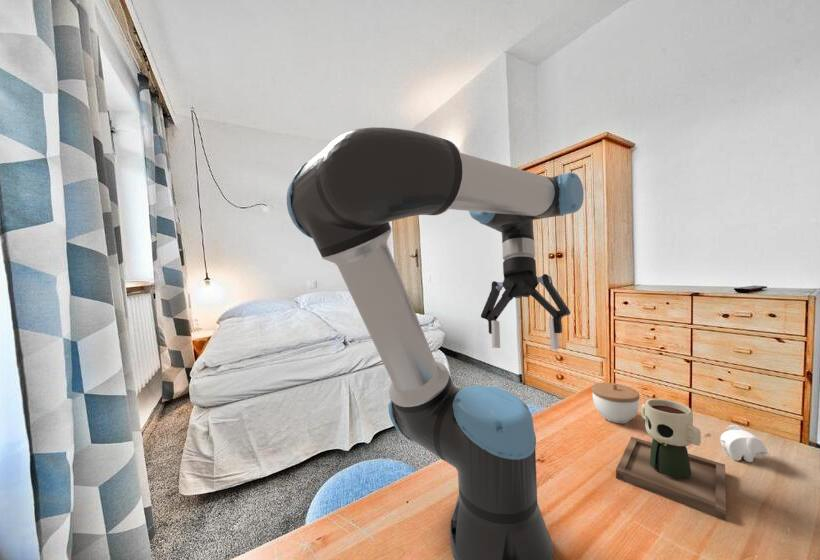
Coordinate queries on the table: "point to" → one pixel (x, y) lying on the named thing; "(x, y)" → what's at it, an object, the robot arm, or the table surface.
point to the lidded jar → (615, 401)
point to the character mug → (670, 435)
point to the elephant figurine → (741, 444)
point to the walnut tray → (676, 479)
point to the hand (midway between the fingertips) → (523, 348)
